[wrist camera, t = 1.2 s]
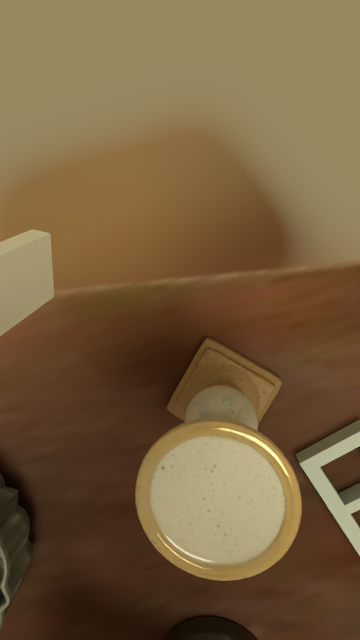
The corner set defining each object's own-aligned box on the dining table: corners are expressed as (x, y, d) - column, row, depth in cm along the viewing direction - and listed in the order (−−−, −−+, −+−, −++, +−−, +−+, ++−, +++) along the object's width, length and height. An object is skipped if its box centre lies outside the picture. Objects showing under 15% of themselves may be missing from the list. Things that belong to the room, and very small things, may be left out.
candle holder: (238, 448, 44) (249, 624, 21) (166, 405, 45) (98, 525, 22) (282, 377, 43) (347, 479, 19) (206, 334, 44) (180, 381, 20)
